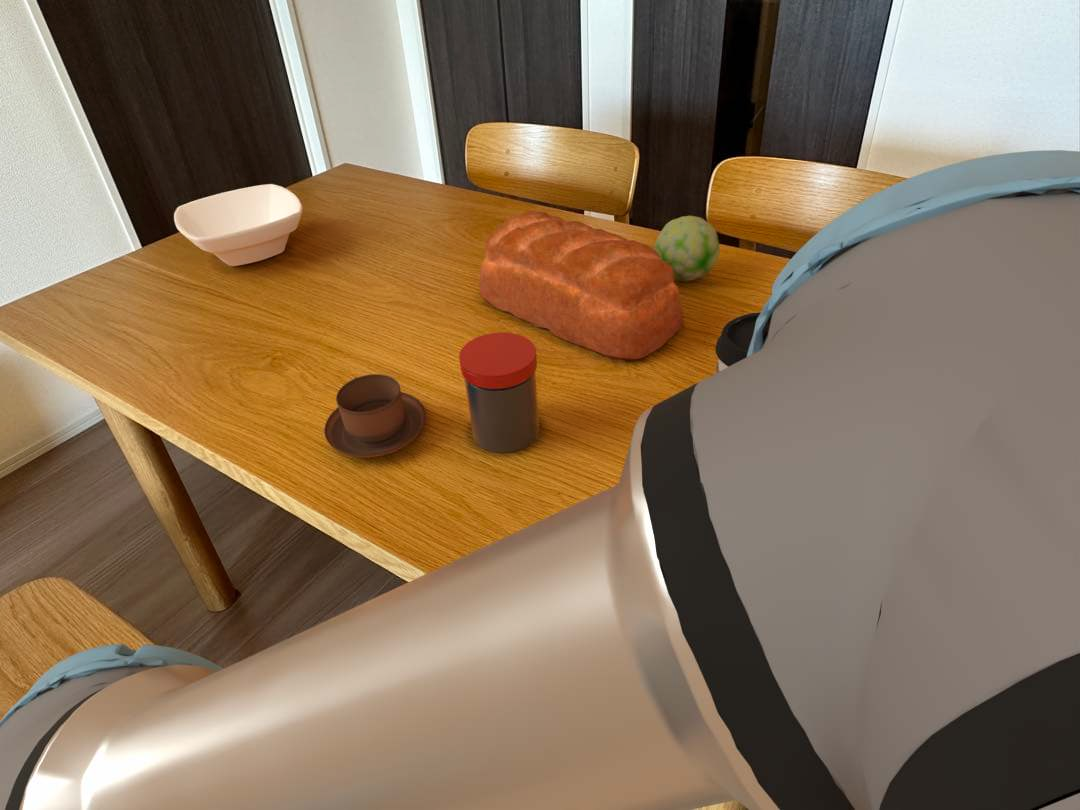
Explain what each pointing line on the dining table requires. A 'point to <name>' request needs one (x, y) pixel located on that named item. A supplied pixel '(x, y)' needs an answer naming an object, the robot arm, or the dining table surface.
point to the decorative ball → (688, 247)
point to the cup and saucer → (373, 417)
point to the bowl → (241, 223)
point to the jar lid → (498, 360)
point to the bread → (582, 284)
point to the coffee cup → (735, 340)
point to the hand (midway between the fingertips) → (917, 600)
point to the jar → (504, 416)
